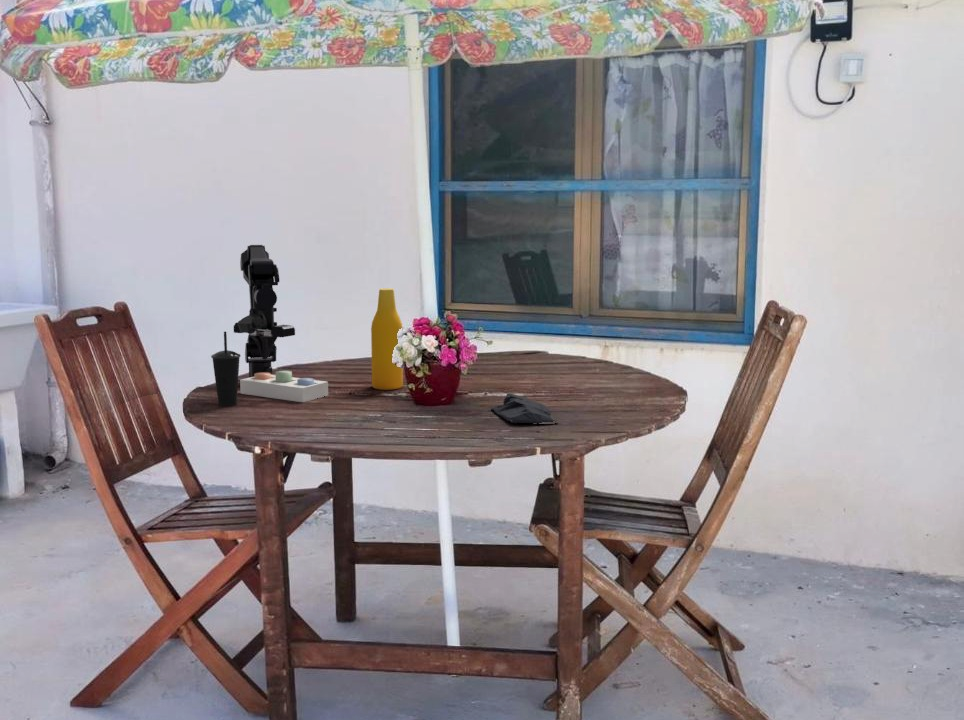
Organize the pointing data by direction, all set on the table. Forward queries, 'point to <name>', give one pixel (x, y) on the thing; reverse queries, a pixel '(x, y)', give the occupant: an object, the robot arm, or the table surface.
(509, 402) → the dark slate chunk
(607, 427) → the table surface
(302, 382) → the button slate
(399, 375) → the beer bottle
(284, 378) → the button sage
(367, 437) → the table surface
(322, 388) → the console
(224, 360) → the drinking cup
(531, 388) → the table surface
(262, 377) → the button terracotta
